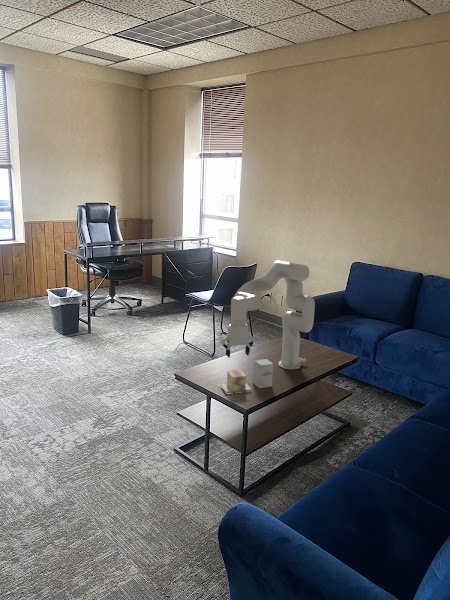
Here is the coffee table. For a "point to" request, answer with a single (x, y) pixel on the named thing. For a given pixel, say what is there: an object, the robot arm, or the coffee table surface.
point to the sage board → (228, 390)
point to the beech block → (236, 380)
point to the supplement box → (263, 373)
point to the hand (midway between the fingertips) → (237, 355)
